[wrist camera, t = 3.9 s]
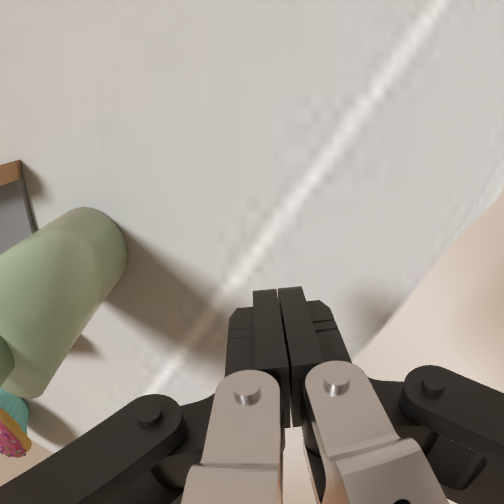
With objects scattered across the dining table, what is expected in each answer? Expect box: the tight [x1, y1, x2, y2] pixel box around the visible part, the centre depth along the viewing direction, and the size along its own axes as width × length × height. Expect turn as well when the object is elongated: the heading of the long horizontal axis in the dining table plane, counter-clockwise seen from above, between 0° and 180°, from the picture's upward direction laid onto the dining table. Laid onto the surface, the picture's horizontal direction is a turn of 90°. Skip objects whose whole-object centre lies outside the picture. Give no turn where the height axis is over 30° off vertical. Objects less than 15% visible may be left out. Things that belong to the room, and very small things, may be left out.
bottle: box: [0, 207, 128, 399], centre depth 11 cm, size 5×5×15 cm
